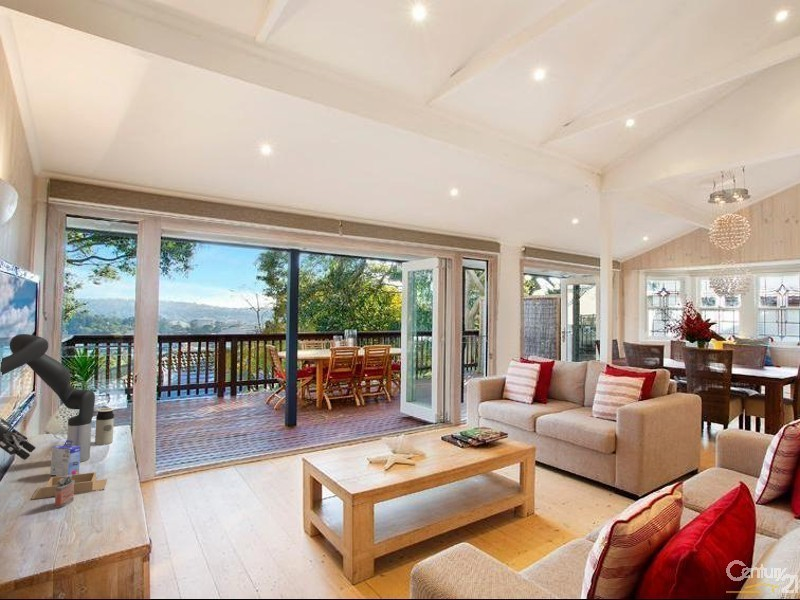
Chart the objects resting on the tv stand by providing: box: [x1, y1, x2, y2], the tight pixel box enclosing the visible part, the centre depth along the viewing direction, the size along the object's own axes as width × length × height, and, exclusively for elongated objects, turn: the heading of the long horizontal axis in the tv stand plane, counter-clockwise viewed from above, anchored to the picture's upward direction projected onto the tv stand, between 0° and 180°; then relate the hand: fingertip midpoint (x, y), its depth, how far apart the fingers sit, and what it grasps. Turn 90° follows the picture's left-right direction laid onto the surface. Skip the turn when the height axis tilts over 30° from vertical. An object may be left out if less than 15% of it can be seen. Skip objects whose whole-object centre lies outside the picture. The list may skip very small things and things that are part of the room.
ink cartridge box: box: [49, 439, 81, 477], centre depth 193 cm, size 10×6×14 cm, turn 78°
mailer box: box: [30, 471, 108, 500], centre depth 180 cm, size 15×23×4 cm, turn 119°
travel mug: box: [94, 407, 115, 446], centre depth 239 cm, size 8×8×18 cm
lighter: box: [53, 475, 75, 510], centre depth 166 cm, size 8×3×10 cm, turn 2°
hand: (30, 453), depth 166 cm, fingers open, 8 cm apart
